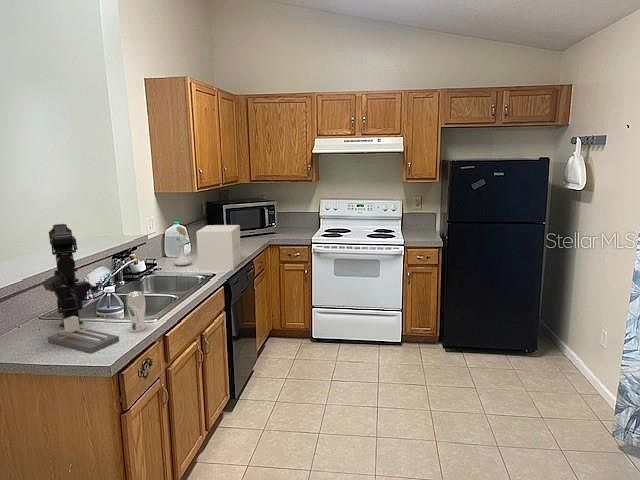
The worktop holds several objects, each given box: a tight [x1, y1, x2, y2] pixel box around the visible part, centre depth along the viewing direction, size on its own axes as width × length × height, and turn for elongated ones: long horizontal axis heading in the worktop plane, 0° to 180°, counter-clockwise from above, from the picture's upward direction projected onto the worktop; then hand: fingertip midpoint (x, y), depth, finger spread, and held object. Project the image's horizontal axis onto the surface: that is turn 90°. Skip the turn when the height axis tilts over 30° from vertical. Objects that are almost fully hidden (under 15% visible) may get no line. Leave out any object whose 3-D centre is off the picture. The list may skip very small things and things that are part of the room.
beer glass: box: [126, 291, 147, 333], centre depth 184 cm, size 7×7×15 cm
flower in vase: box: [173, 225, 193, 266], centre depth 292 cm, size 13×11×25 cm
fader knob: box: [62, 316, 80, 333], centre depth 175 cm, size 3×4×6 cm
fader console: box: [47, 326, 120, 354], centre depth 173 cm, size 24×12×3 cm, turn 64°
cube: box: [195, 224, 242, 271], centre depth 289 cm, size 25×21×24 cm
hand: (70, 306), depth 174 cm, fingers open, 9 cm apart
